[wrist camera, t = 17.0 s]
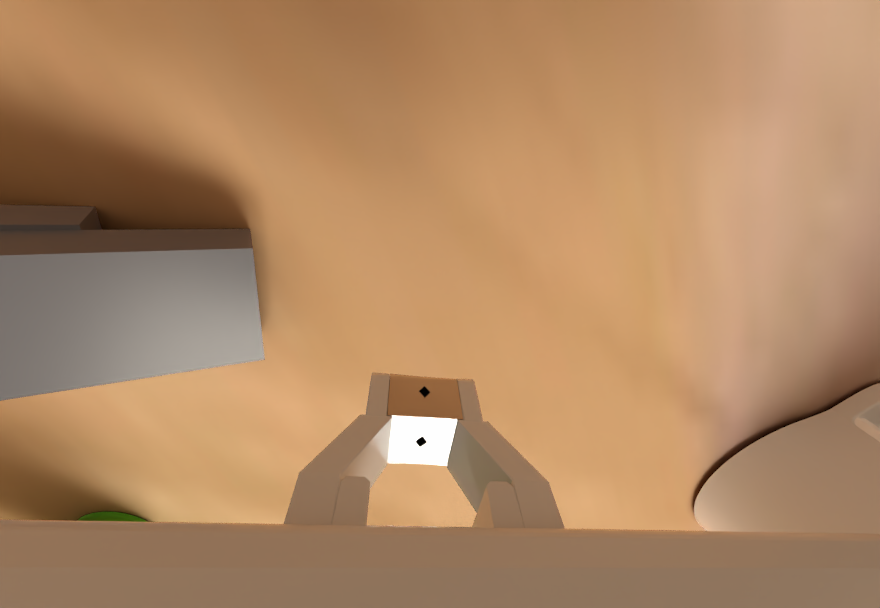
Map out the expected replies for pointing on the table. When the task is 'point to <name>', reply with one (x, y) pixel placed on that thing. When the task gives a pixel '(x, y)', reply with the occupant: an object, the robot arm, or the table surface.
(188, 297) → the domino
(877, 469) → the robot arm
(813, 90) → the table surface
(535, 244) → the table surface
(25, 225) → the domino
